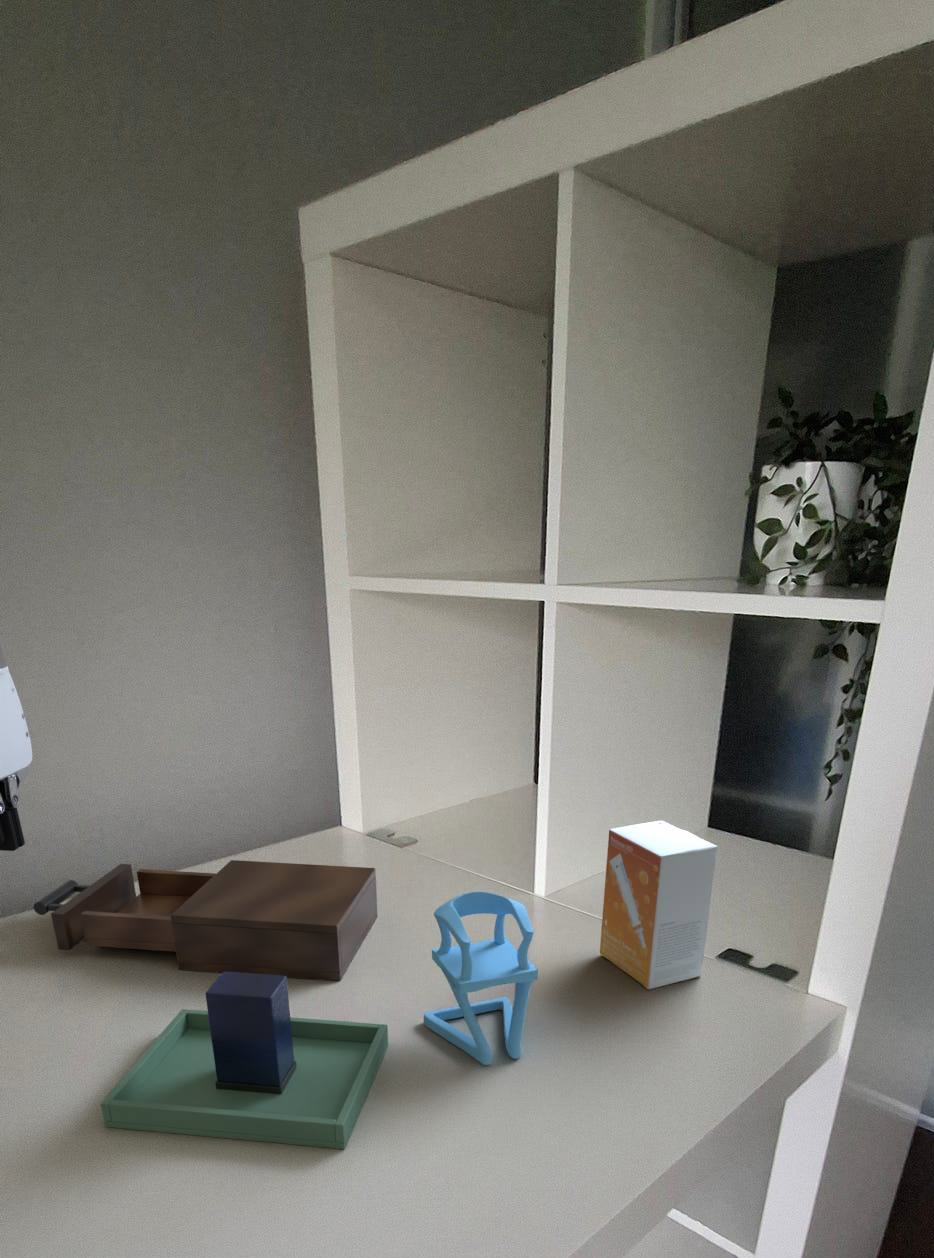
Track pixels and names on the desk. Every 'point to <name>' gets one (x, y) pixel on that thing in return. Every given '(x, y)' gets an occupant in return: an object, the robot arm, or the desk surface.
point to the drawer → (139, 917)
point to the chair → (482, 972)
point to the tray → (302, 1115)
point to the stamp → (251, 1032)
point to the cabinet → (277, 920)
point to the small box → (657, 902)
